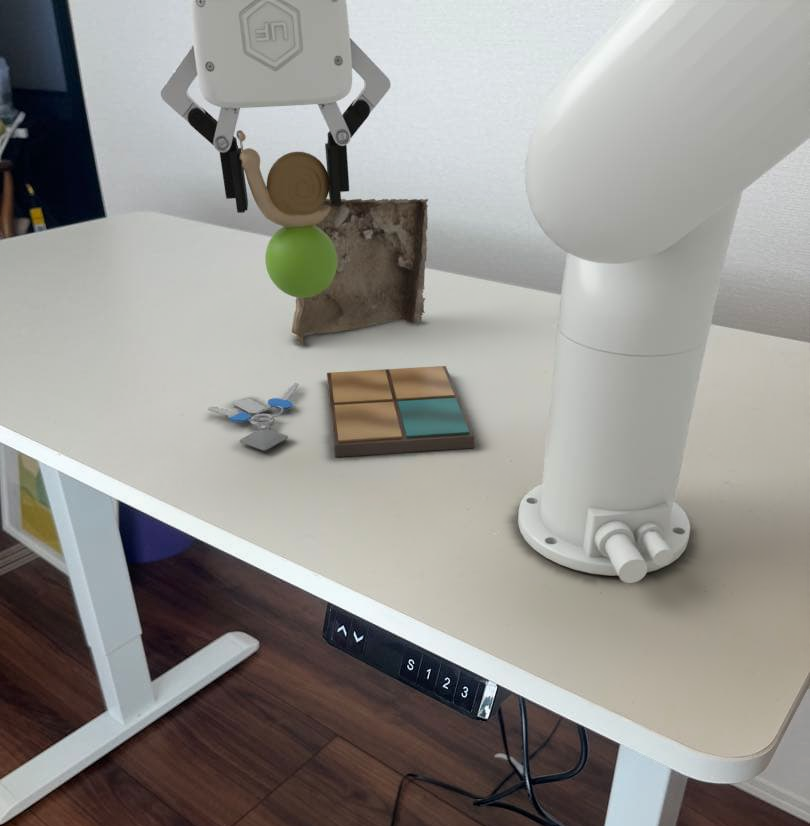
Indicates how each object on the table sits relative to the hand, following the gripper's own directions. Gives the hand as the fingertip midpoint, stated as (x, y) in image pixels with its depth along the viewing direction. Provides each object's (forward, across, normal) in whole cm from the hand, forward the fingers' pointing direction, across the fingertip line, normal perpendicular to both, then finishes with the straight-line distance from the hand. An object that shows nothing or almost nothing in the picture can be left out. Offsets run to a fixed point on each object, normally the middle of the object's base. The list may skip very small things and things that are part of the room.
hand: (289, 203), depth 60 cm
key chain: (+21, -6, +8) cm, 23 cm away
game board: (+21, +8, +8) cm, 24 cm away
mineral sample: (+21, +7, +30) cm, 38 cm away
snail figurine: (+7, 0, 0) cm, 7 cm away
